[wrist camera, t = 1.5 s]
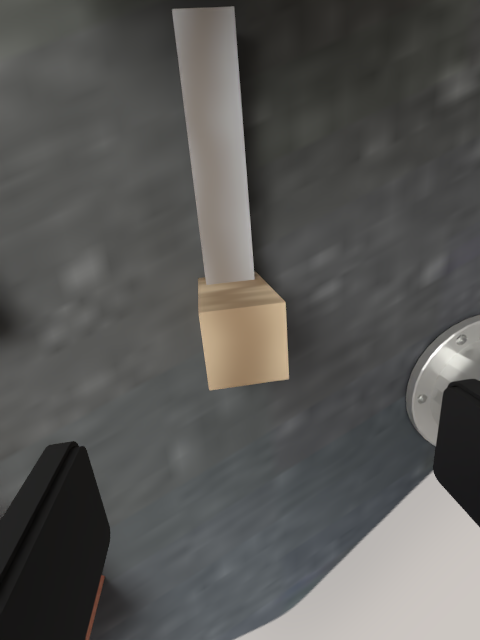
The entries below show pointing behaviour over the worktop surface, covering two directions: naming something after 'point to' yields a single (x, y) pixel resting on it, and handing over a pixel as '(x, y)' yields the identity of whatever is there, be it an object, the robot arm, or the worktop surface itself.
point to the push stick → (225, 209)
